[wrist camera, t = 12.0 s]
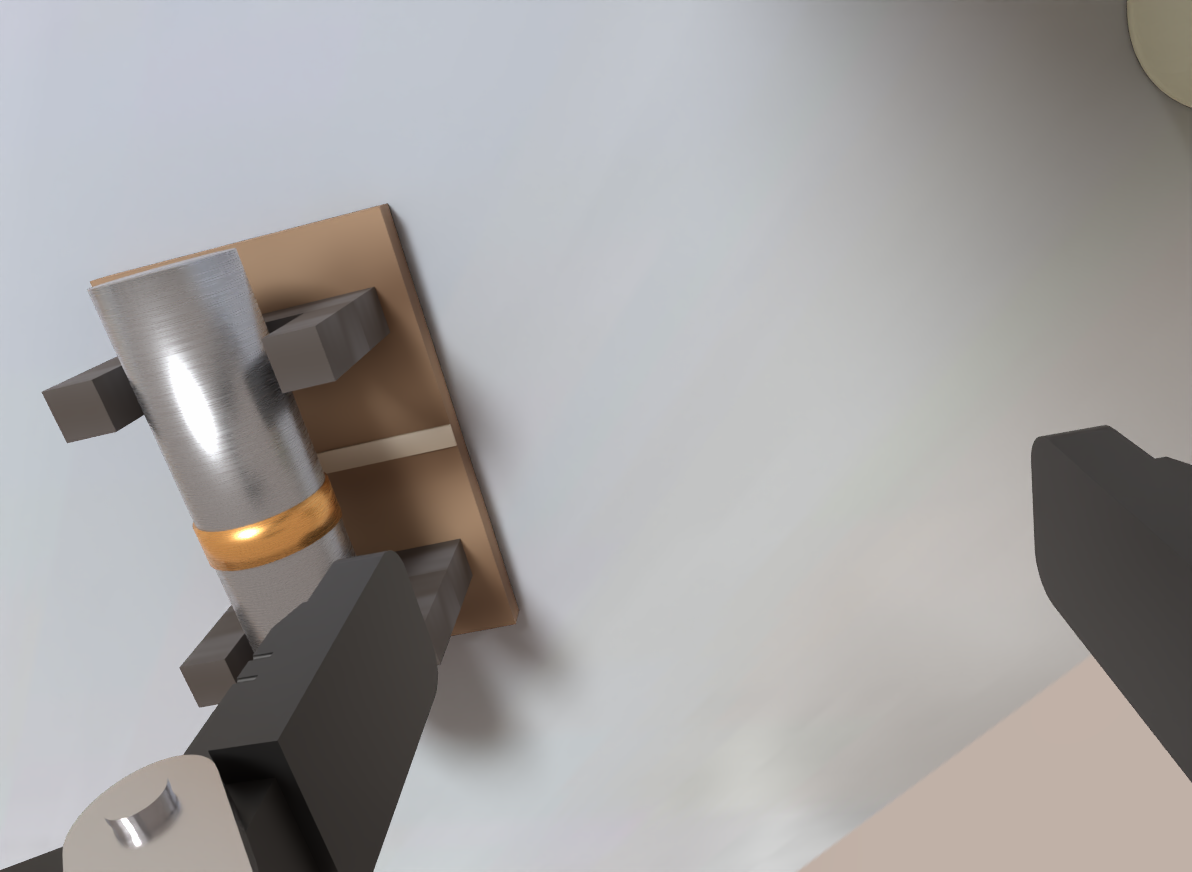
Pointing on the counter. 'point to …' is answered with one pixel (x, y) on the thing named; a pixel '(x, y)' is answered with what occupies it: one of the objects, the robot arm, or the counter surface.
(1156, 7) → the can
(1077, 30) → the counter surface
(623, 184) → the counter surface
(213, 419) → the tube
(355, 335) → the cradle stand
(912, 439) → the counter surface
